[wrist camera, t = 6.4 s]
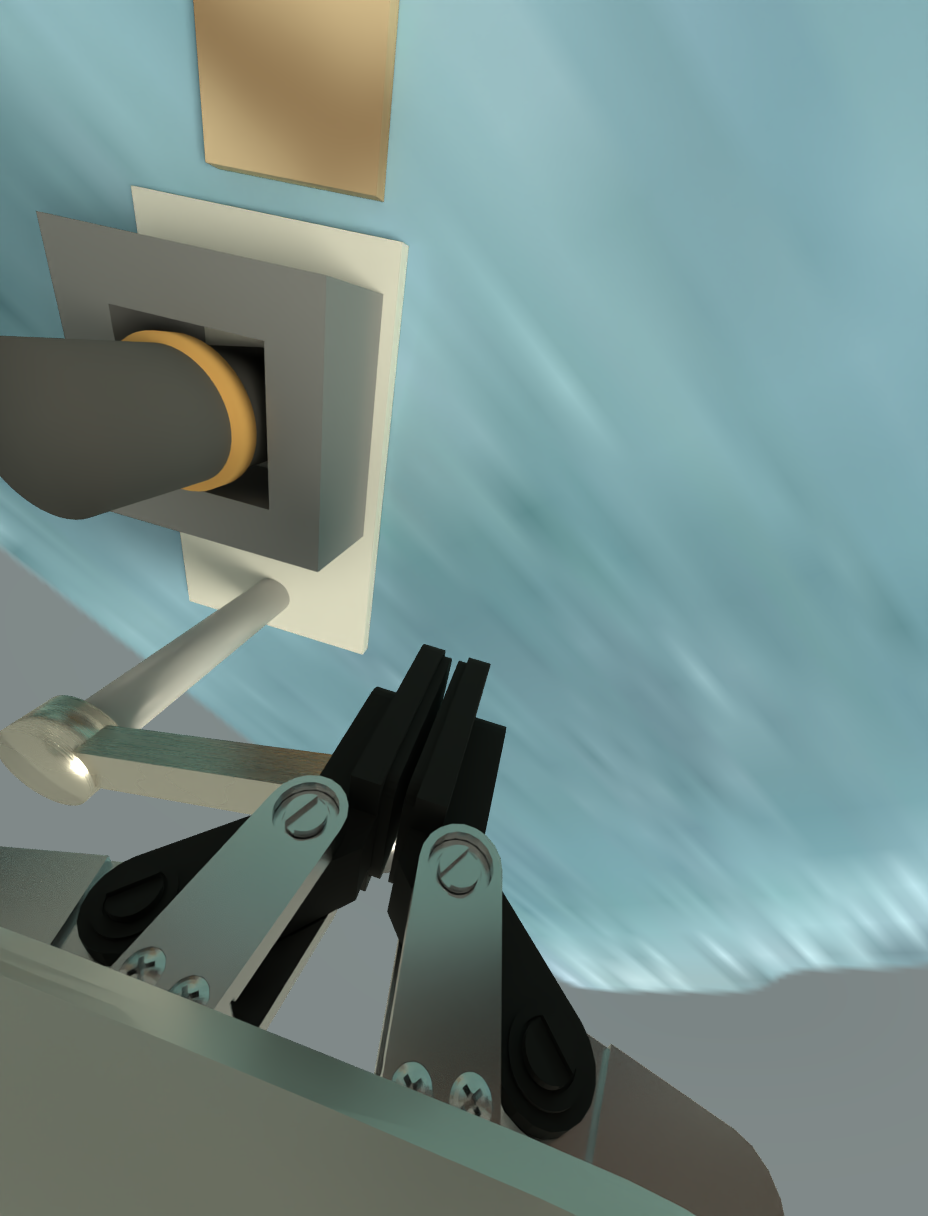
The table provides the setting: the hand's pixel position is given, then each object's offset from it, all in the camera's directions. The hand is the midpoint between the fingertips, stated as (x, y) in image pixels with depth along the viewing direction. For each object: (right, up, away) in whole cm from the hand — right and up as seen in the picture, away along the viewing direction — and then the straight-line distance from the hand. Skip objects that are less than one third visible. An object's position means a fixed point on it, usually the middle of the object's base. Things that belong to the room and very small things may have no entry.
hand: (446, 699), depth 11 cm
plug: (-7, +10, +7) cm, 15 cm away
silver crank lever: (-7, -2, +2) cm, 7 cm away
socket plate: (-8, +9, +9) cm, 15 cm away
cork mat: (-5, +18, +3) cm, 19 cm away
